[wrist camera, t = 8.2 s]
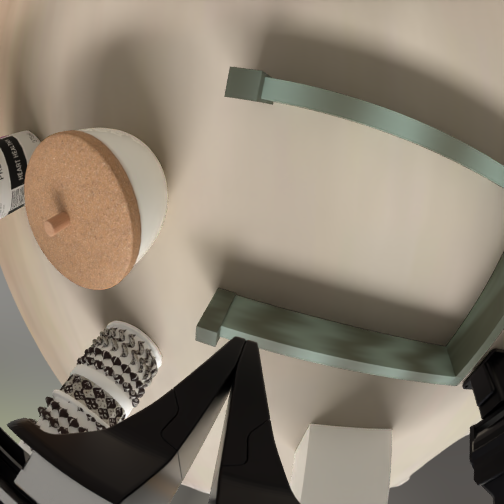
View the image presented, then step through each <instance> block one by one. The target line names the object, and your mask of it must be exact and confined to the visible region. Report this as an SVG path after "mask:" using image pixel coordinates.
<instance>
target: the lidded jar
mask: <svg viewBox="0 0 504 504" xmlns="http://www.w3.org/2000/svg"><path fill="white" fill-rule="evenodd" d="M24 197H25V206H26V211H27V216H28V219H29V223H30V226H31V229H32V231H33V234H34V236H35V238H36V240H37V242H38V244H39V246H40V248H41V249H42V251H43V253H44V254H45V256H46V257H47V258H48V260H49V261H50V262H51V263H52V265H53V266H54V267H55V268H56V269H57V270H58V271H59V272H60V273H61V274H62V275H64V276H65V277H66V278H68V279H69V280H70V281H72V282H74V283H76V284H77V285H79V286H82V287H85V288H88V289H93V290H104V289H108V288H111V287H113V286H115V285H117V284H118V283H119V282H120V281H121V280H122V279H123V278H124V277H125V276H126V275H127V274H128V273H129V272H130V271H131V269H132V268H133V266H134V265H135V264H136V263H137V262H138V261H139V260H140V259H141V258H142V257H143V256H144V255H145V254H146V252H147V251H148V250H149V248H150V247H151V246H152V244H153V243H154V241H155V240H156V238H157V236H158V234H159V232H160V230H161V228H162V226H163V223H164V219H165V216H166V212H167V205H168V190H167V183H166V178H165V175H164V171H163V169H162V167H161V165H160V163H159V161H158V159H157V158H156V156H155V155H154V153H153V152H152V151H151V150H150V149H149V147H148V146H147V145H145V144H144V143H143V142H142V141H141V140H139V139H138V138H136V137H135V136H133V135H131V134H129V133H126V132H124V131H121V130H116V129H110V128H86V129H80V130H70V131H63V132H58V133H55V134H53V135H50V136H48V137H47V138H45V139H44V140H43V141H42V142H41V143H40V144H39V145H38V146H37V147H36V149H35V150H34V152H33V154H32V156H31V158H30V160H29V163H28V165H27V170H26V174H25V182H24Z"/></svg>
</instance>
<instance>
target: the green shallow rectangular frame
mask: <svg viewBox="0 0 504 504" xmlns="http://www.w3.org/2000/svg"><path fill="white" fill-rule="evenodd" d="M224 97H231V98H238V99H244V100H251V101H257V102H262V103H268V104H273V102H278V103H283V104H288V105H292V106H297V107H301V108H305V109H310V110H314V111H318V112H322V113H325V114H329V115H333V116H336V117H340V118H343V119H347V120H350V121H353V122H356V123H360V124H363V125H366V126H369V127H372V128H375V129H378V130H380V131H383V132H386V133H389V134H392V135H394V136H397V137H400V138H402V139H405V140H407V141H410V142H412V143H415V144H417V145H419V146H422V147H424V148H426V149H429V150H431V151H433V152H436V153H438V154H440V155H442V156H444V157H446V158H448V159H451V160H453V161H455V162H457V163H459V164H461V165H463V166H465V167H467V168H468V169H470V170H472V171H474V172H476V173H478V174H480V175H482V176H483V177H485V178H487V179H489V180H490V181H492V182H494V183H496V184H497V185H499V186H501V187H502V188H504V166H503V165H501V164H500V163H498V162H497V161H495V160H493V159H492V158H490V157H488V156H487V155H485V154H483V153H482V152H480V151H478V150H476V149H475V148H473V147H471V146H469V145H467V144H465V143H464V142H462V141H460V140H458V139H456V138H454V137H452V136H450V135H448V134H446V133H444V132H442V131H440V130H438V129H435V128H433V127H431V126H429V125H427V124H424V123H422V122H420V121H417V120H415V119H413V118H410V117H408V116H405V115H403V114H400V113H398V112H395V111H392V110H390V109H387V108H384V107H381V106H378V105H376V104H373V103H370V102H367V101H364V100H360V99H357V98H354V97H351V96H347V95H344V94H340V93H337V92H333V91H329V90H325V89H321V88H317V87H313V86H309V85H304V84H300V83H295V82H290V81H285V80H280V79H274V78H272V77H270V76H269V75H267V74H266V73H265V72H263V71H260V70H253V69H246V68H237V67H230V69H229V75H228V80H227V85H226V91H225V96H224ZM503 329H504V253H503V255H502V257H501V259H500V261H499V263H498V265H497V267H496V269H495V271H494V272H493V274H492V276H491V278H490V280H489V282H488V283H487V285H486V287H485V289H484V290H483V292H482V294H481V295H480V297H479V299H478V300H477V302H476V304H475V305H474V307H473V308H472V310H471V312H470V313H469V315H468V316H467V318H466V319H465V321H464V322H463V324H462V325H461V327H460V328H459V329H458V331H457V332H456V334H455V335H454V336H453V338H452V339H451V341H450V342H449V343H448V345H447V346H446V347H445V346H440V345H435V344H429V343H424V342H420V341H415V340H410V339H405V338H401V337H396V336H392V335H387V334H383V333H378V332H374V331H369V330H365V329H361V328H357V327H353V326H348V325H344V324H340V323H336V322H332V321H328V320H324V319H321V318H317V317H313V316H309V315H305V314H301V313H298V312H294V311H290V310H287V309H283V308H279V307H276V306H272V305H269V304H265V303H261V302H258V301H255V300H251V299H248V298H244V297H241V296H237V295H236V293H234V292H230V291H227V290H224V289H220V288H218V289H217V291H216V293H215V294H214V296H213V298H212V300H211V301H210V303H209V305H208V307H207V308H206V310H205V312H204V314H203V315H202V317H201V319H200V321H199V322H198V324H197V326H196V341H199V342H202V343H205V344H208V345H211V346H214V347H215V346H216V344H217V342H218V340H219V338H220V337H223V338H226V339H229V340H231V339H232V338H233V337H235V336H238V337H241V338H244V339H246V340H251V341H255V342H257V343H258V348H260V349H263V350H267V351H270V352H274V353H278V354H281V355H285V356H289V357H293V358H297V359H301V360H305V361H309V362H314V363H318V364H322V365H327V366H331V367H336V368H341V369H345V370H350V371H355V372H361V373H366V374H371V375H377V376H383V377H389V378H395V379H402V380H409V381H416V382H424V383H432V384H441V385H451V386H457V385H458V384H459V383H460V382H461V381H462V380H463V379H464V378H465V376H466V375H467V374H468V373H469V372H470V371H471V370H472V369H473V367H474V366H475V365H476V364H477V363H478V362H479V360H480V359H481V358H482V357H483V355H484V354H485V353H486V352H487V350H488V349H489V348H490V347H491V345H492V344H493V343H494V341H495V340H496V339H497V337H498V336H499V335H500V333H501V332H502V330H503Z"/></svg>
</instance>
